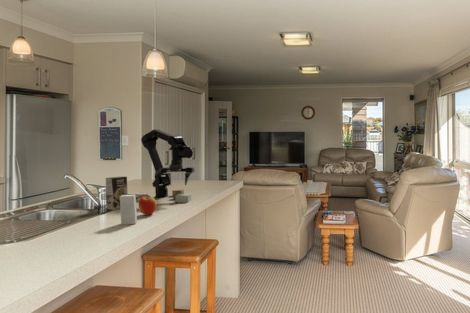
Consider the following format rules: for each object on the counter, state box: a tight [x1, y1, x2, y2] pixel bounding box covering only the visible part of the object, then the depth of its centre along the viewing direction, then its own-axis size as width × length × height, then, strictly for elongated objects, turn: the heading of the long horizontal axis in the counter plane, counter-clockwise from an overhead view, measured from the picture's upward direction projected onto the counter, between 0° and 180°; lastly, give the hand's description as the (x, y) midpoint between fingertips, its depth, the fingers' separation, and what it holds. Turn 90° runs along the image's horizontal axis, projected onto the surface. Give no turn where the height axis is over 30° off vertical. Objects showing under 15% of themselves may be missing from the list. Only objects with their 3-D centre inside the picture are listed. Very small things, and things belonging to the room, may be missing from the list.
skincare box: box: [119, 194, 138, 226], centre depth 191 cm, size 6×4×12 cm
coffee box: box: [105, 176, 129, 211], centre depth 232 cm, size 9×6×16 cm
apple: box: [138, 193, 157, 215], centre depth 211 cm, size 8×8×10 cm
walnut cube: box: [172, 188, 185, 200], centre depth 260 cm, size 5×5×5 cm
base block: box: [175, 193, 192, 204], centre depth 249 cm, size 7×7×4 cm
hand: (178, 185), depth 260 cm, fingers open, 9 cm apart
